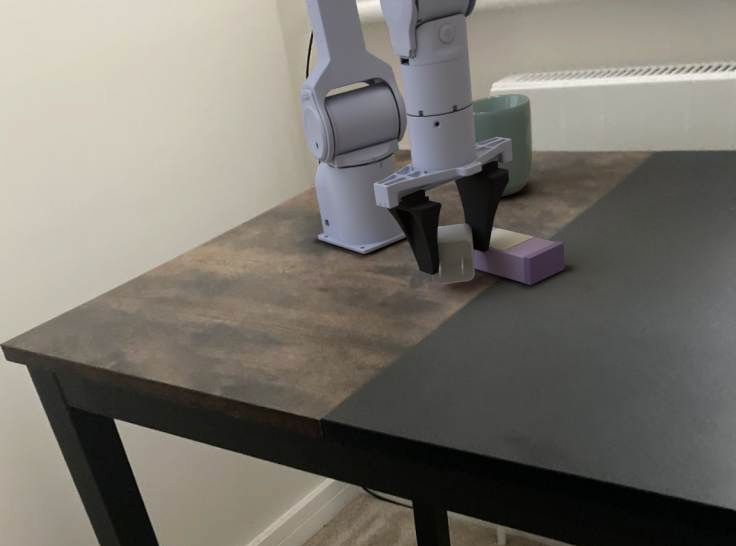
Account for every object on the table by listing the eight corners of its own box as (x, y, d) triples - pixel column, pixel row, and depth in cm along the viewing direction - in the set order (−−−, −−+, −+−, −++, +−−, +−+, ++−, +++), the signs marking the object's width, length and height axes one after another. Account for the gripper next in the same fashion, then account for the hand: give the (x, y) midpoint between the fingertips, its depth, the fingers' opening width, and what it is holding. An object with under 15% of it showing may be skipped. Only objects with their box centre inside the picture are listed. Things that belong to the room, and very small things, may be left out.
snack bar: (445, 260, 92) (442, 235, 90) (477, 246, 94) (475, 221, 92) (530, 285, 83) (529, 258, 81) (564, 269, 85) (564, 242, 83)
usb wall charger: (474, 262, 87) (471, 222, 85) (475, 291, 81) (471, 248, 79) (433, 267, 88) (429, 227, 85) (431, 296, 82) (426, 254, 80)
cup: (539, 196, 103) (535, 104, 98) (471, 207, 104) (464, 116, 98) (529, 177, 110) (525, 90, 104) (466, 188, 110) (458, 101, 105)
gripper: (402, 135, 71) (422, 296, 79) (533, 88, 77) (539, 243, 84) (350, 127, 76) (374, 279, 84) (477, 84, 82) (488, 230, 90)
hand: (454, 260), depth 84 cm, fingers closed on usb wall charger, 6 cm apart
